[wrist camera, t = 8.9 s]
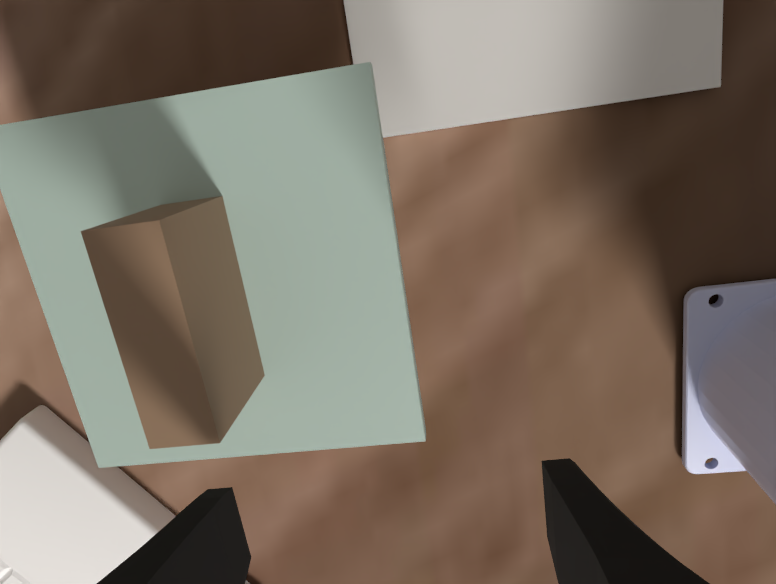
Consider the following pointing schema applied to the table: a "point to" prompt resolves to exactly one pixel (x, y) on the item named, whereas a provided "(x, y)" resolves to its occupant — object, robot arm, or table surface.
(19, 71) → the table surface
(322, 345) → the lid
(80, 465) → the laptop
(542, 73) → the mat
